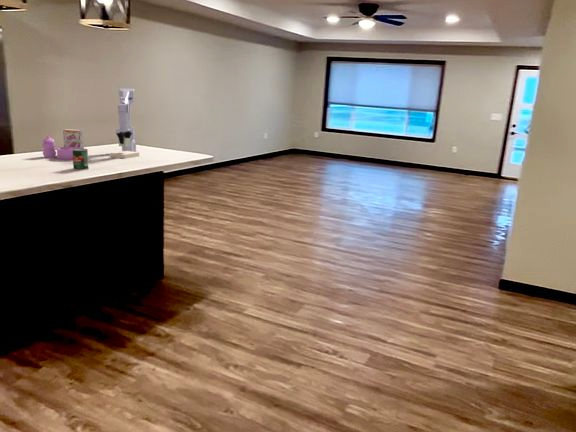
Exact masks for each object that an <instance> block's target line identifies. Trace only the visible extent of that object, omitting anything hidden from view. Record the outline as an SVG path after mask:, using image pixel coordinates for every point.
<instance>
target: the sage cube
mask: <svg viewBox="0 0 576 432" xmlns="http://www.w3.org/2000/svg"><path fill="white" fill-rule="evenodd" d="M118 146H119V147H122V146H125V147H126V146H130V138H124V144H120V141H119V140H118Z"/></svg>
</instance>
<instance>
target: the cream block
mask: <svg viewBox="0 0 576 432" xmlns="http://www.w3.org/2000/svg"><path fill="white" fill-rule="evenodd" d="M109 156H110V157H111V158H118V159H130V158H131V159H132V158H136V157H140V152H138V151H137V152H132V151H122V150H120V151H115V152H110V154H109Z"/></svg>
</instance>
